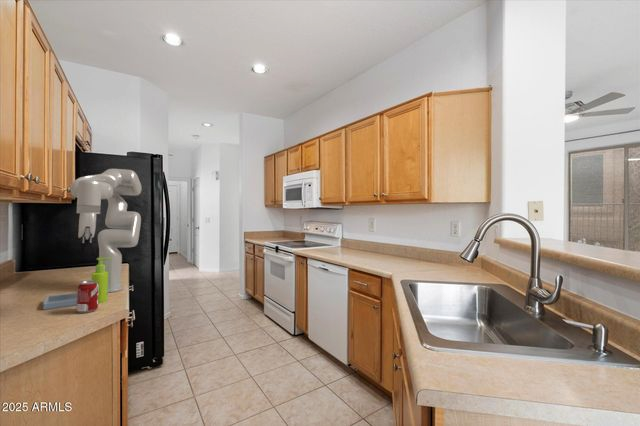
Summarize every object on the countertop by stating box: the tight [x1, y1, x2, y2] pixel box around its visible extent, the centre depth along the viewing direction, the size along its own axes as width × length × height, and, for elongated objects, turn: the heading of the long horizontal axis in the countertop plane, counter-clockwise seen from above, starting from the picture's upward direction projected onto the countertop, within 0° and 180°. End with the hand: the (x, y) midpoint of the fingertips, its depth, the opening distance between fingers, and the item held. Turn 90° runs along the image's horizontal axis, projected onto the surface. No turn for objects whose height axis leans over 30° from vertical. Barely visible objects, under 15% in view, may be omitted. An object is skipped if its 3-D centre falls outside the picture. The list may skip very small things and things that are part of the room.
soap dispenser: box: [91, 257, 112, 305], centre depth 128 cm, size 6×7×20 cm
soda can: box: [76, 279, 99, 314], centre depth 116 cm, size 7×7×12 cm
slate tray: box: [42, 292, 77, 311], centre depth 124 cm, size 13×13×2 cm
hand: (86, 251), depth 115 cm, fingers open, 9 cm apart
